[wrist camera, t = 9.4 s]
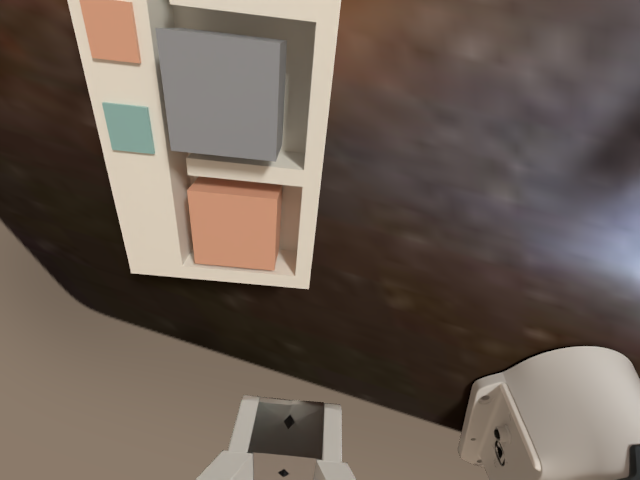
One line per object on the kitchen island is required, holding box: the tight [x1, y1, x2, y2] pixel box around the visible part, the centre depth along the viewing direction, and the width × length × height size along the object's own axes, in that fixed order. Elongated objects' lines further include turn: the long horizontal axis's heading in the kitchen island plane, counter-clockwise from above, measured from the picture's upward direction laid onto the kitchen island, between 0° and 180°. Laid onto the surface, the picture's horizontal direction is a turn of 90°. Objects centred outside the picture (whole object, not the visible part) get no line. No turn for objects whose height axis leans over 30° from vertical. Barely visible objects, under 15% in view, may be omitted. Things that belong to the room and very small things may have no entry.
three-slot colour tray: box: [67, 0, 341, 289], centre depth 19 cm, size 24×12×5 cm, turn 174°
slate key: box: [155, 28, 287, 162], centre depth 17 cm, size 5×5×3 cm
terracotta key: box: [187, 176, 283, 271], centre depth 23 cm, size 5×5×3 cm
